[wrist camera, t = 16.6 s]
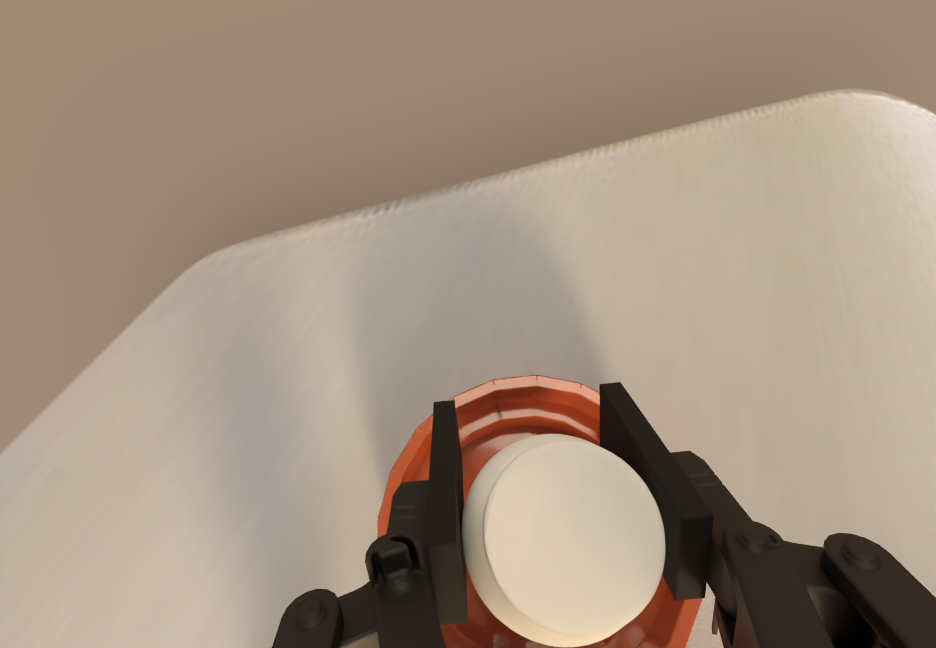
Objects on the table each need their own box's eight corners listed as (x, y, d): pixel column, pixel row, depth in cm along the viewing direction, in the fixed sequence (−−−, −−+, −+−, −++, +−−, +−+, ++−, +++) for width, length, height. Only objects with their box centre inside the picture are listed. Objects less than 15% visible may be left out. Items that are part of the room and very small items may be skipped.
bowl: (627, 390, 26) (655, 361, 22) (695, 672, 21) (751, 713, 16) (395, 415, 26) (375, 392, 22) (405, 702, 21) (381, 751, 17)
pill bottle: (621, 593, 18) (746, 656, 9) (485, 621, 18) (477, 712, 9) (582, 451, 20) (652, 391, 11) (461, 475, 20) (435, 433, 11)
